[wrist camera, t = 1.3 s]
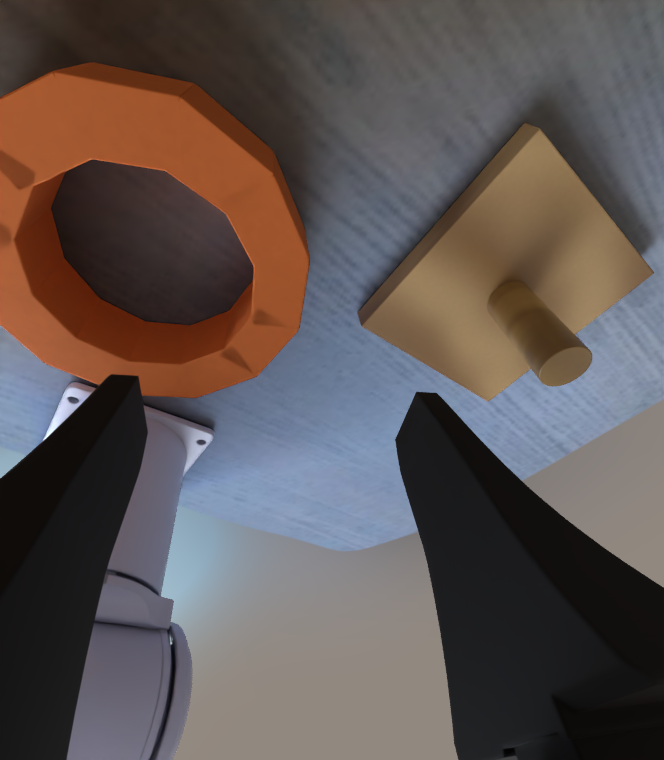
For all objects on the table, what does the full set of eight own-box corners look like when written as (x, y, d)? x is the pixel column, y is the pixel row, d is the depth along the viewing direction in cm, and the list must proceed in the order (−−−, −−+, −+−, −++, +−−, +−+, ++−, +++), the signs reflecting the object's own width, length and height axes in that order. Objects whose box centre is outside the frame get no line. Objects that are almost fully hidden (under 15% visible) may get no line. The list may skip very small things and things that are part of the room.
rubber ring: (43, 346, 19) (13, 389, 17) (-71, 28, 12) (-151, 30, 9) (285, 363, 21) (287, 403, 19) (322, 109, 14) (332, 125, 12)
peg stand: (480, 388, 25) (528, 472, 20) (356, 312, 20) (383, 400, 15) (637, 261, 20) (748, 334, 15) (524, 121, 15) (636, 166, 10)
